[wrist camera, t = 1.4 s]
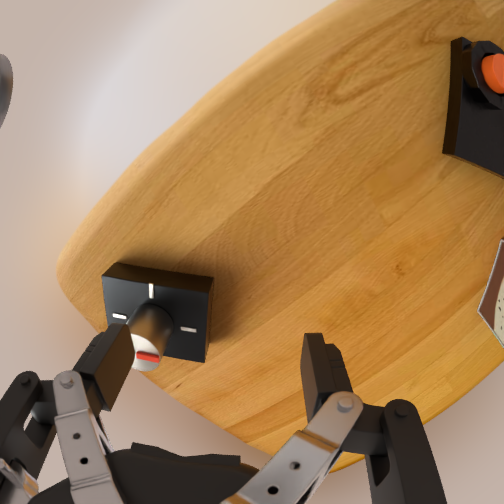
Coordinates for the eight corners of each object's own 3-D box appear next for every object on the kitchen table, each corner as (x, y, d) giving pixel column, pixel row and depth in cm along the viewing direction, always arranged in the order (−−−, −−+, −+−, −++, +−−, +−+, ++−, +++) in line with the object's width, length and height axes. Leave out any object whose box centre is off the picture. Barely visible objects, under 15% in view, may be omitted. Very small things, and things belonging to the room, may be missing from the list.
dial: (134, 335, 27) (116, 367, 22) (131, 300, 25) (109, 331, 21) (174, 343, 27) (160, 378, 22) (173, 308, 25) (157, 341, 21)
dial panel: (121, 328, 30) (110, 345, 27) (114, 261, 27) (100, 275, 24) (209, 345, 30) (204, 365, 27) (214, 276, 27) (208, 293, 24)
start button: (480, 83, 16) (492, 82, 15) (480, 49, 15) (492, 46, 13) (506, 99, 16) (518, 99, 15) (506, 66, 15) (517, 65, 13)
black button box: (439, 152, 22) (464, 156, 18) (448, 37, 18) (470, 28, 14) (506, 180, 22) (529, 187, 19) (514, 78, 18) (537, 77, 14)
